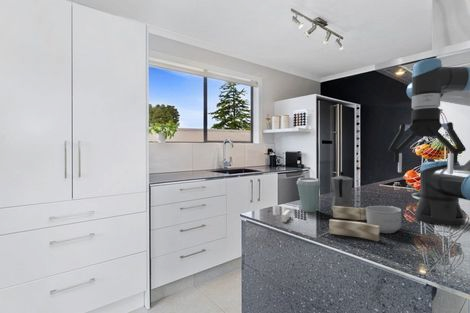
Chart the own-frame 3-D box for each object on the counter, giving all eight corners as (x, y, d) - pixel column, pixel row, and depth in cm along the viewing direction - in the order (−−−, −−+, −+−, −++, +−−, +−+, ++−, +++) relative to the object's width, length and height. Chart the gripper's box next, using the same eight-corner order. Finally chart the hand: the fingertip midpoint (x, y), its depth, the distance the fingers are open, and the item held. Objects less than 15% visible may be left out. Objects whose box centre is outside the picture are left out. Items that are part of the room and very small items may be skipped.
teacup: (387, 238, 81) (387, 213, 81) (358, 228, 91) (358, 206, 91) (414, 231, 87) (414, 208, 86) (384, 222, 96) (384, 202, 96)
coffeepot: (332, 206, 123) (332, 170, 122) (353, 208, 119) (353, 170, 118) (328, 214, 109) (328, 173, 109) (352, 217, 105) (352, 174, 104)
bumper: (290, 216, 107) (290, 209, 107) (285, 222, 100) (285, 214, 99) (286, 216, 108) (286, 209, 107) (281, 221, 100) (281, 214, 100)
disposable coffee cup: (325, 212, 112) (325, 179, 112) (303, 214, 110) (303, 180, 109) (313, 207, 123) (312, 176, 122) (292, 208, 120) (292, 177, 120)
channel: (372, 218, 102) (372, 207, 102) (379, 241, 78) (379, 227, 78) (333, 215, 108) (333, 204, 108) (328, 235, 84) (328, 222, 84)
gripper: (382, 110, 85) (381, 172, 86) (480, 103, 74) (478, 175, 74) (381, 112, 92) (380, 170, 93) (471, 107, 80) (469, 173, 81)
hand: (423, 173), depth 84 cm, fingers open, 13 cm apart
